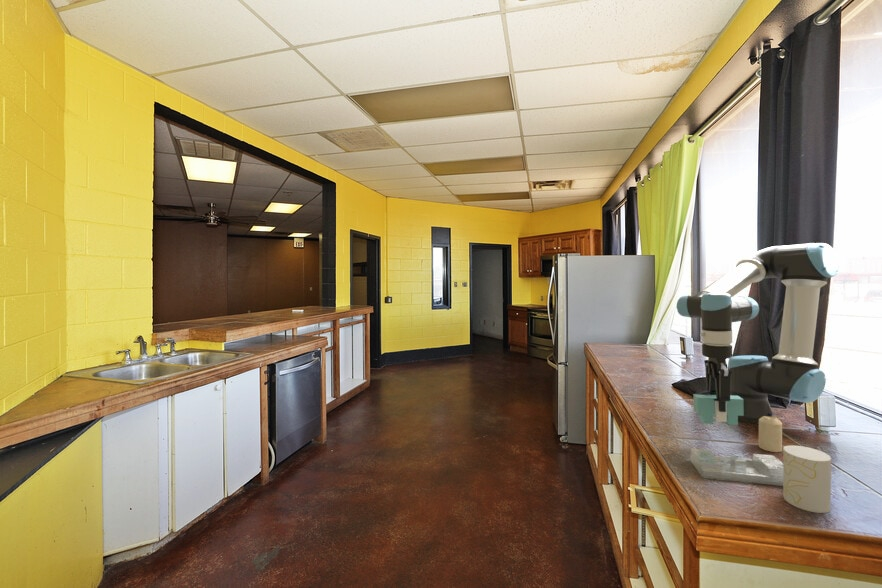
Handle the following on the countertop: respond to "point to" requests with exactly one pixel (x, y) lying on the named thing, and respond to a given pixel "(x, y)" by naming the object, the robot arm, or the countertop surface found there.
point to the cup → (807, 478)
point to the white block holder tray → (738, 467)
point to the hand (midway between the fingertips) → (718, 418)
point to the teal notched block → (706, 408)
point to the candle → (770, 434)
